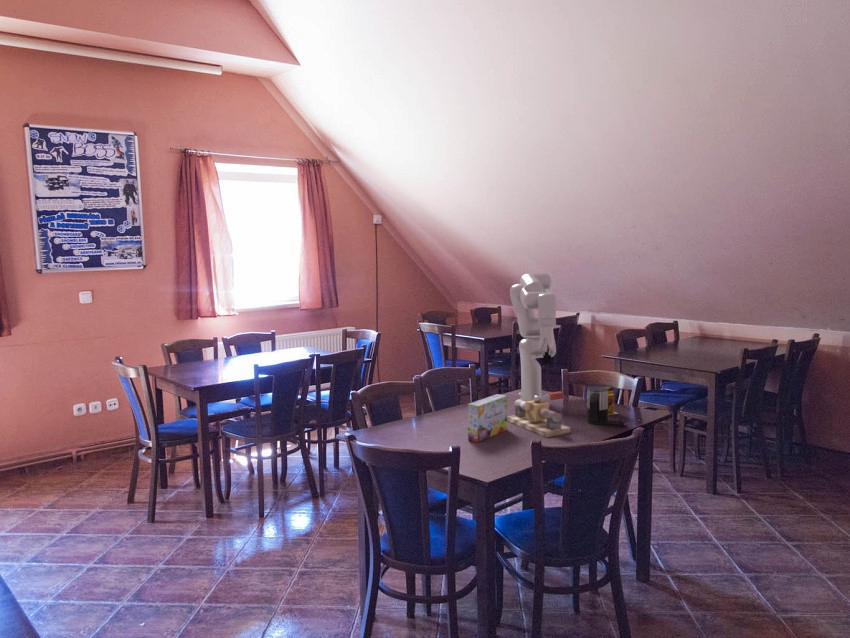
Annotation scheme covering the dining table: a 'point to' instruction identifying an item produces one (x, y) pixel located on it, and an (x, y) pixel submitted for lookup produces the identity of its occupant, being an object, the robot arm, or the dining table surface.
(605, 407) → the milk frother
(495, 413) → the snack box
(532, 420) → the valve stand
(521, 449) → the dining table surface
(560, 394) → the valve lever
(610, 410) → the condiment
